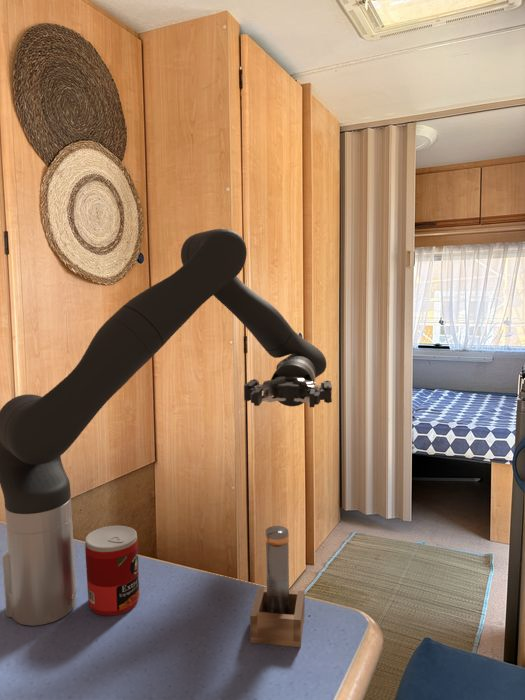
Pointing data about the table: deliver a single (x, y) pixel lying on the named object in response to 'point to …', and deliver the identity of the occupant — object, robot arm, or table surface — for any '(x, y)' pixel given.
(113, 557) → the canned food
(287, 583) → the cylinder
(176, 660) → the table surface
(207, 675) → the table surface
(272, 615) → the wooden masu cup
